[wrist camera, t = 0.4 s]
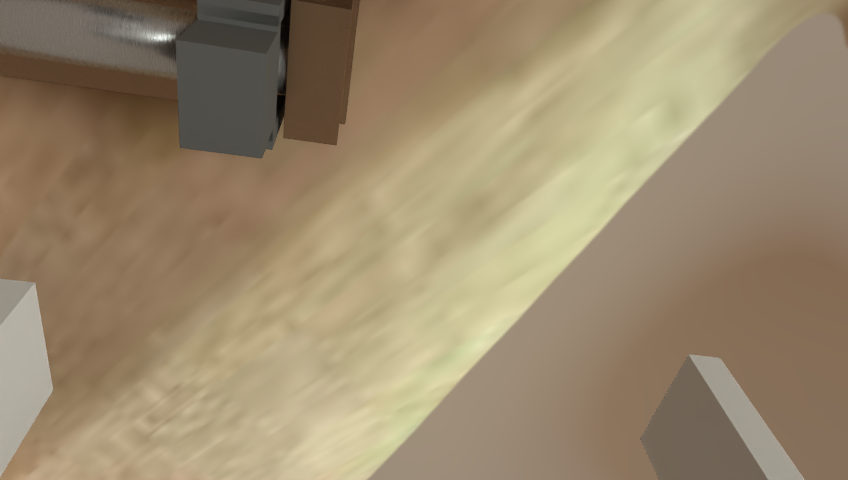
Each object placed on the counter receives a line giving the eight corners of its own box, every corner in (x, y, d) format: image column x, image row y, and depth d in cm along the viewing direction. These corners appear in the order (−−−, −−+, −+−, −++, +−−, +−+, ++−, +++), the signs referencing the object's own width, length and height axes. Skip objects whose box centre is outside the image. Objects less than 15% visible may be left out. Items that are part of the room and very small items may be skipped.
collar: (229, -34, 27) (174, 9, 20) (296, -22, 28) (267, 24, 20) (228, 93, 30) (180, 171, 23) (288, 101, 31) (261, 181, 23)
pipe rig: (-141, -164, 27) (-332, -171, 20) (367, -67, 31) (365, -42, 23) (-83, 56, 32) (-217, 115, 25) (345, 118, 36) (338, 185, 28)
